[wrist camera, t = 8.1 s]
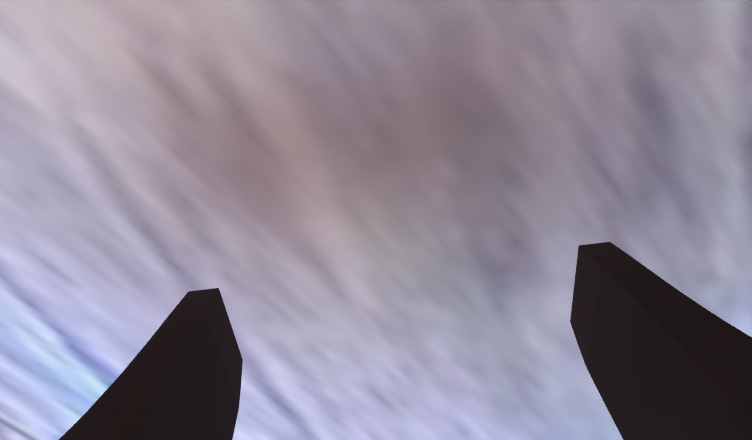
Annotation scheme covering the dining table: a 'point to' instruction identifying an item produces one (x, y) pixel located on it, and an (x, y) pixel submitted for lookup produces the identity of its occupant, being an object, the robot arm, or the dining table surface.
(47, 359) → the dining table surface
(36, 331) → the dining table surface
